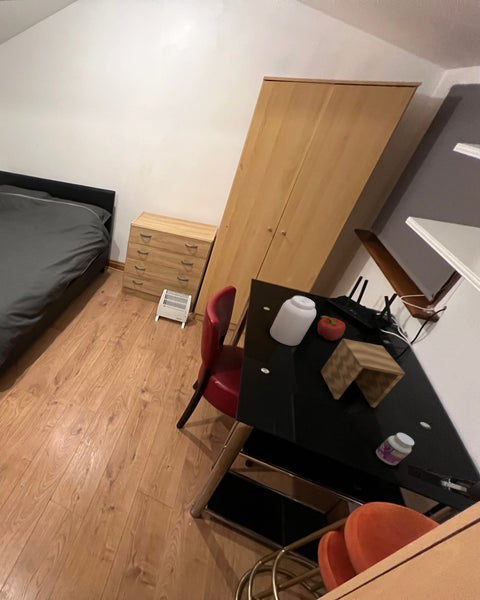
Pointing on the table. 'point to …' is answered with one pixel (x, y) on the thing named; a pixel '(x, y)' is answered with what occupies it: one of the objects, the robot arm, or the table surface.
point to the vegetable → (330, 328)
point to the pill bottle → (395, 448)
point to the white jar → (293, 320)
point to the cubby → (361, 370)
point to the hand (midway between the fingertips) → (411, 469)
